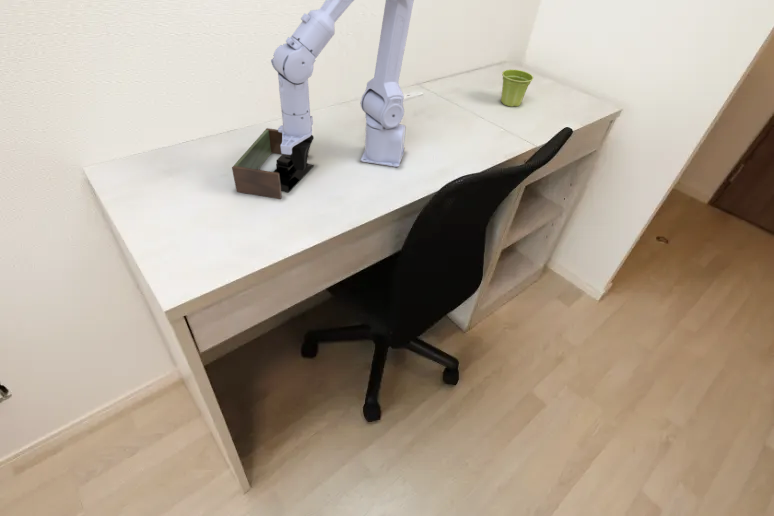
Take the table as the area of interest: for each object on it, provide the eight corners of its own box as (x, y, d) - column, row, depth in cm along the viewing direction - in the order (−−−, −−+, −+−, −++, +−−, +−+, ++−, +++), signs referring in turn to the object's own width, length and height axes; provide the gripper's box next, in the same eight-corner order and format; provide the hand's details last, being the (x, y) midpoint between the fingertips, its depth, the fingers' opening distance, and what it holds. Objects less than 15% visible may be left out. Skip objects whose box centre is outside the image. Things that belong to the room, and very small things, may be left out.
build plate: (288, 193, 96) (286, 175, 93) (258, 185, 98) (255, 167, 95) (314, 166, 105) (313, 148, 102) (286, 159, 106) (284, 141, 103)
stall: (308, 156, 108) (307, 134, 104) (280, 199, 94) (277, 174, 90) (269, 150, 109) (266, 128, 105) (236, 192, 95) (231, 167, 91)
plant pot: (529, 102, 141) (537, 74, 135) (519, 112, 135) (527, 83, 129) (502, 94, 145) (508, 67, 139) (491, 103, 139) (497, 75, 133)
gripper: (289, 93, 96) (294, 150, 105) (262, 121, 85) (271, 182, 94) (320, 97, 95) (323, 154, 104) (298, 127, 85) (303, 187, 94)
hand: (300, 168), depth 99 cm, fingers closed
